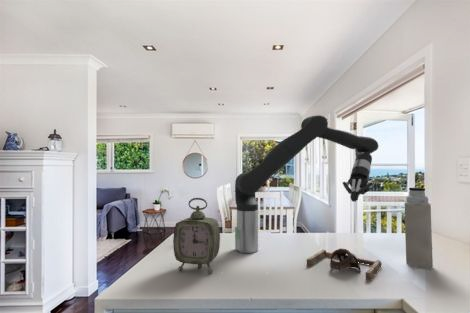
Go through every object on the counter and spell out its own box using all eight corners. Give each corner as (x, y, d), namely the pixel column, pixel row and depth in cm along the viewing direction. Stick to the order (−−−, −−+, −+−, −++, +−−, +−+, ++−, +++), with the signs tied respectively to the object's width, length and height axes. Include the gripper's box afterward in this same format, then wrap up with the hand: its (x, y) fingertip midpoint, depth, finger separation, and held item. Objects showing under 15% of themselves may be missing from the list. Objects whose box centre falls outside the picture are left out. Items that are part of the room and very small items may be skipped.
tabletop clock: (172, 273, 92) (173, 198, 93) (183, 263, 101) (184, 196, 102) (213, 276, 89) (213, 199, 90) (221, 266, 97) (221, 196, 99)
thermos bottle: (403, 260, 103) (401, 186, 105) (428, 262, 101) (425, 187, 102) (409, 267, 96) (407, 188, 97) (436, 270, 93) (433, 188, 94)
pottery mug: (367, 277, 89) (357, 257, 88) (340, 288, 90) (330, 268, 89) (354, 256, 101) (345, 238, 99) (330, 266, 102) (321, 248, 101)
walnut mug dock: (324, 255, 110) (324, 248, 110) (381, 266, 97) (381, 259, 97) (306, 266, 98) (306, 259, 98) (369, 281, 84) (369, 273, 85)
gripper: (344, 165, 128) (335, 193, 118) (374, 165, 120) (368, 195, 110) (348, 176, 132) (340, 204, 122) (378, 177, 124) (372, 207, 114)
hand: (353, 200), depth 116 cm, fingers closed
